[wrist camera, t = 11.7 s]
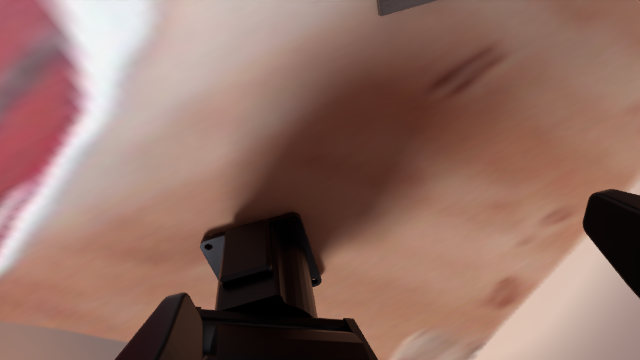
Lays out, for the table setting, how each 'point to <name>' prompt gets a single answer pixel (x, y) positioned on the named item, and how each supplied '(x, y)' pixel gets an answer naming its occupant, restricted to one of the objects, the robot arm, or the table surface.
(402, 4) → the collar plate
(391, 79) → the table surface
